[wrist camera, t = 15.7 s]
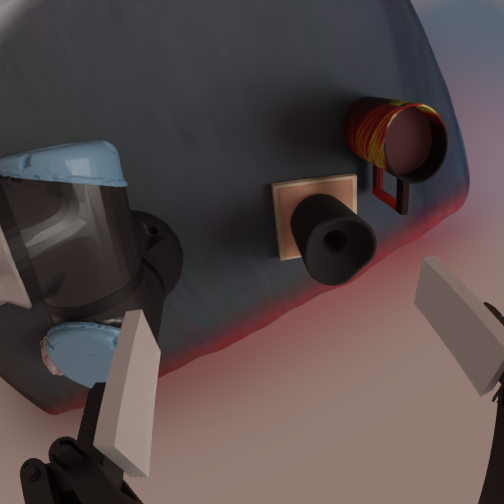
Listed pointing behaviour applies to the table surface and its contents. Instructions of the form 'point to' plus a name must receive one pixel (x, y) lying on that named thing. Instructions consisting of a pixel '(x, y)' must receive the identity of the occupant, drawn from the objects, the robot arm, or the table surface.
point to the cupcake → (47, 360)
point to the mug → (396, 143)
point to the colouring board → (298, 190)
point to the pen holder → (331, 239)
